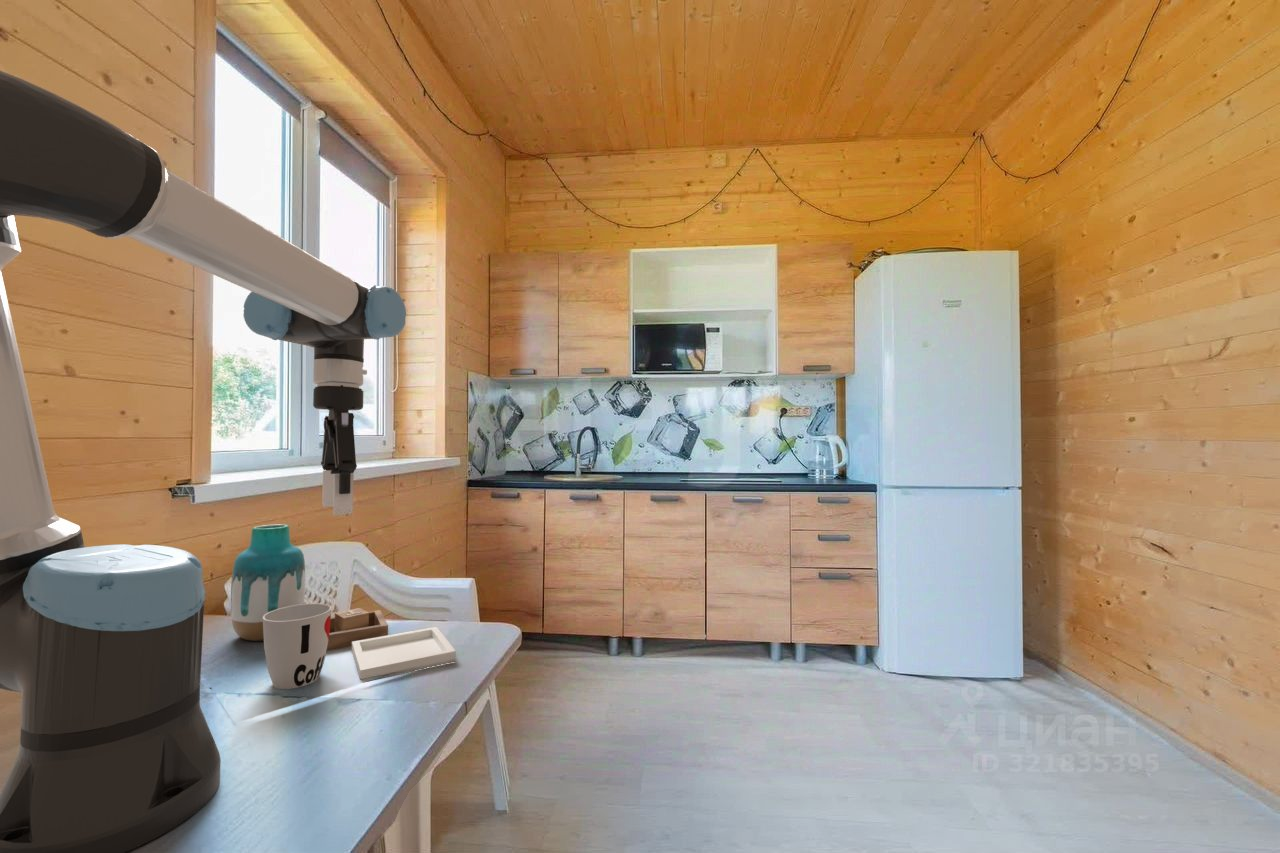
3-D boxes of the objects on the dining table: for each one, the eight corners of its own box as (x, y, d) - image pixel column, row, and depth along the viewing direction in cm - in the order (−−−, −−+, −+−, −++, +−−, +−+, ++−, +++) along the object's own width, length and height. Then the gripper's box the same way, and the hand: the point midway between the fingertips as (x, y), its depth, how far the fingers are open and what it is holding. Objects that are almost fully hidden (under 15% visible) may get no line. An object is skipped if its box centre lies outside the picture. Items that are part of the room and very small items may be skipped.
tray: (455, 662, 82) (455, 650, 82) (360, 683, 75) (360, 670, 75) (436, 637, 93) (436, 626, 93) (351, 653, 86) (351, 641, 86)
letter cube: (368, 636, 92) (368, 612, 92) (343, 642, 89) (343, 617, 89) (359, 630, 94) (359, 607, 94) (334, 636, 91) (334, 612, 91)
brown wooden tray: (387, 643, 90) (388, 625, 90) (318, 655, 84) (318, 636, 85) (379, 626, 98) (379, 609, 98) (316, 636, 93) (316, 619, 93)
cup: (296, 700, 70) (298, 623, 70) (245, 694, 71) (247, 619, 72) (343, 674, 78) (344, 605, 78) (295, 669, 79) (297, 601, 80)
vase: (238, 632, 95) (241, 524, 96) (308, 624, 99) (310, 520, 100) (221, 653, 85) (224, 533, 86) (299, 643, 90) (301, 528, 90)
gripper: (378, 381, 85) (376, 516, 84) (350, 393, 104) (349, 502, 104) (323, 378, 80) (320, 520, 79) (305, 391, 100) (303, 504, 99)
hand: (336, 510), depth 92 cm, fingers open, 13 cm apart
